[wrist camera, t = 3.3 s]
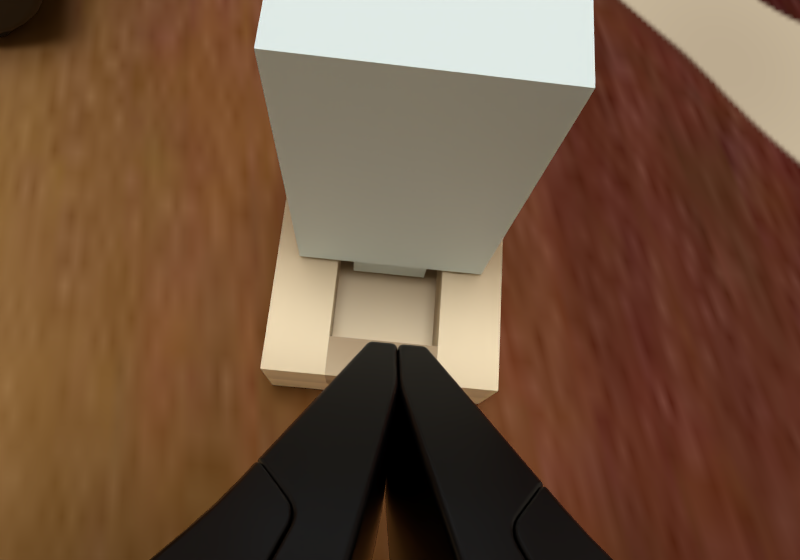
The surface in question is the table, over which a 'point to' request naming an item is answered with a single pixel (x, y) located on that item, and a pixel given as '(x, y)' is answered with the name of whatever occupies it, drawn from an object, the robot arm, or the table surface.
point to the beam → (379, 318)
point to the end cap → (16, 13)
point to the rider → (418, 120)
